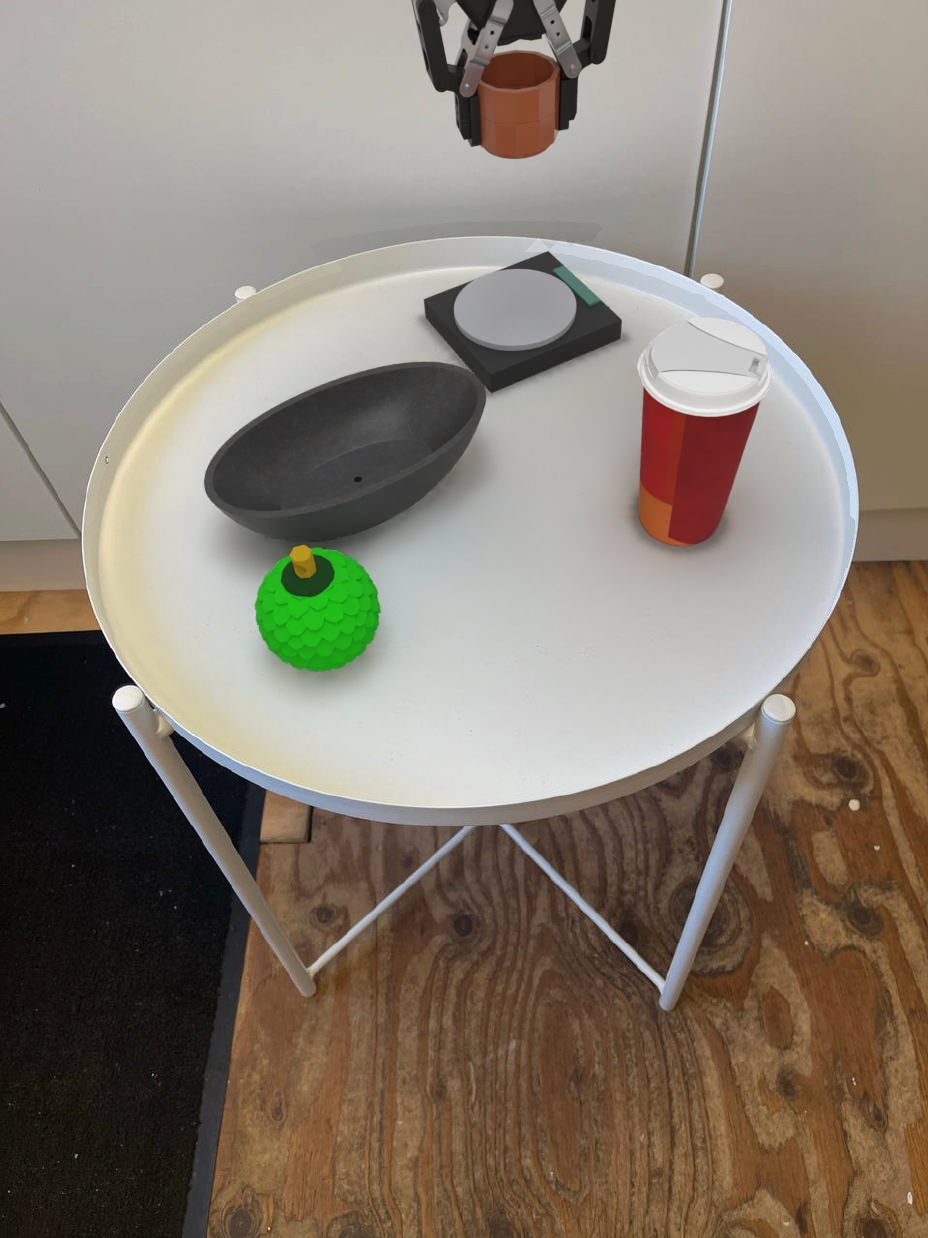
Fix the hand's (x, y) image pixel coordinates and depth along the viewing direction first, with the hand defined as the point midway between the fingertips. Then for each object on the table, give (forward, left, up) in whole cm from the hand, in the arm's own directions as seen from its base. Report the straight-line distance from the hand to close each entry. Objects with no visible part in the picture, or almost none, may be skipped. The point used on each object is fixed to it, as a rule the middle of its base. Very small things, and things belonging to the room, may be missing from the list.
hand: (517, 132), depth 71 cm
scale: (0, 0, -18) cm, 18 cm away
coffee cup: (-5, +24, -18) cm, 31 cm away
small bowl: (0, 0, -1) cm, 1 cm away
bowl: (+17, +15, -18) cm, 29 cm away
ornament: (+22, +29, -18) cm, 40 cm away
